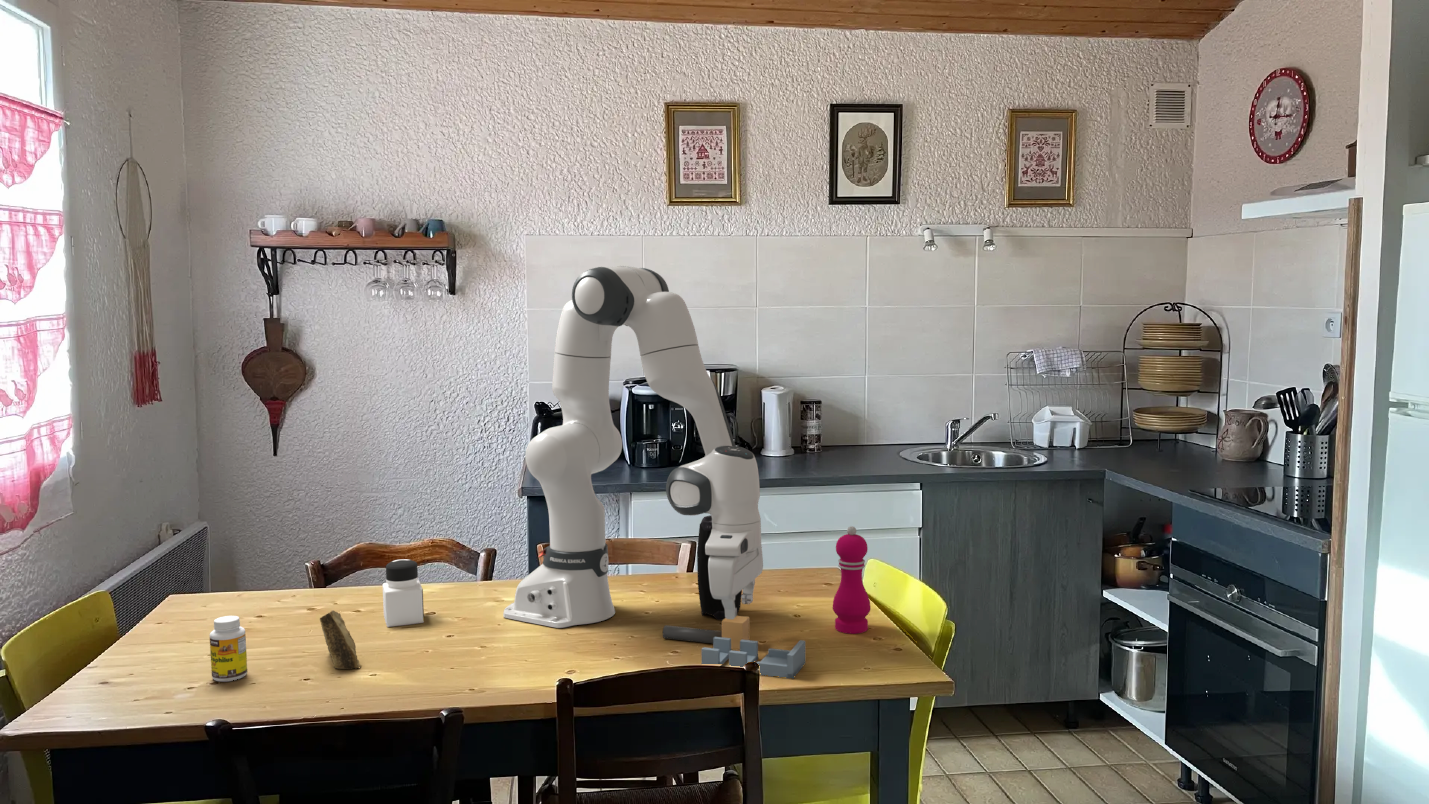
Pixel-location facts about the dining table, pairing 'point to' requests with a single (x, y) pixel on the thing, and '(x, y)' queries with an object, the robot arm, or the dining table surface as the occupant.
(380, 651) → the dining table surface
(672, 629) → the grey and tan hammer
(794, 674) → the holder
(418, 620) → the medicine bottle
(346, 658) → the rock
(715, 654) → the clip
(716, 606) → the portable speaker
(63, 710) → the dining table surface
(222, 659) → the supplement bottle
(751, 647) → the clip
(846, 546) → the pepper mill
